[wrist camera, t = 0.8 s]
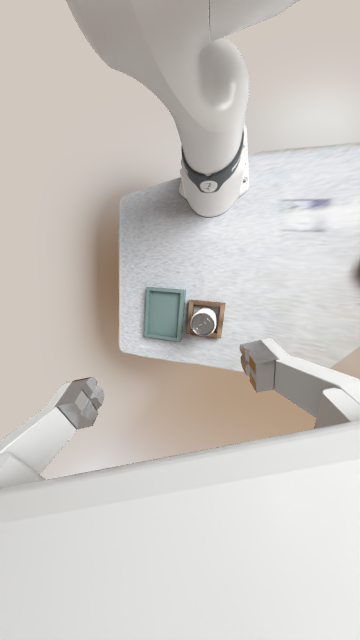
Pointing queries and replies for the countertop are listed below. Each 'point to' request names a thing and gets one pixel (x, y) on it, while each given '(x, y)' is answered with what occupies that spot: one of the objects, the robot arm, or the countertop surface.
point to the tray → (164, 313)
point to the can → (203, 322)
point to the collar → (206, 303)
